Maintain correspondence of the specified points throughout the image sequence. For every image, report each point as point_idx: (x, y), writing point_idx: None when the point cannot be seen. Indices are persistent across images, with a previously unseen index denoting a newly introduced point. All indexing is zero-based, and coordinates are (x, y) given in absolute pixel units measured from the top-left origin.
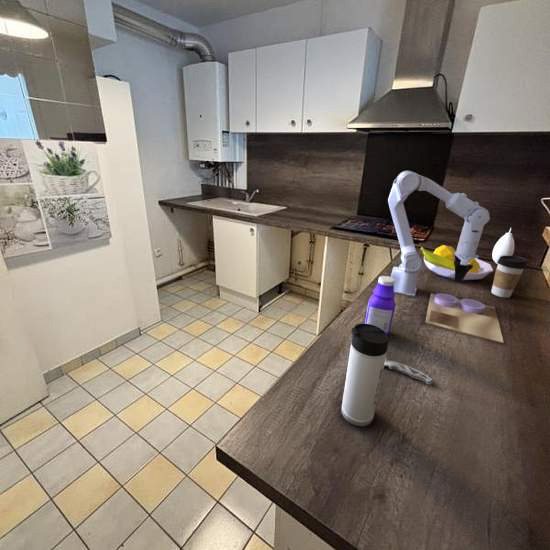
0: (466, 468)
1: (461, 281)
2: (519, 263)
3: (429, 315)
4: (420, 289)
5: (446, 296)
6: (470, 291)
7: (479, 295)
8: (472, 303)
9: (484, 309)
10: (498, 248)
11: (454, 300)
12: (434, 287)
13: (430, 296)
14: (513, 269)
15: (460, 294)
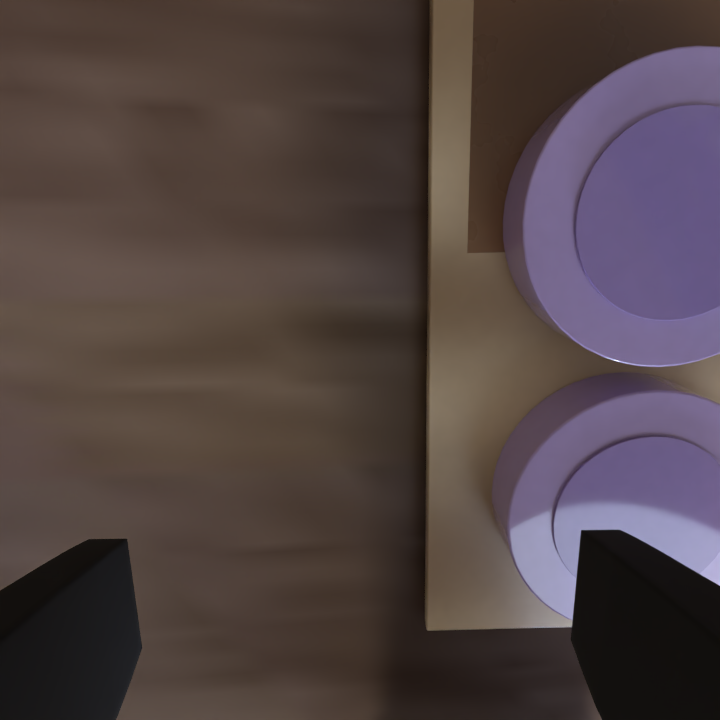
0: None
1: (639, 544)
2: None
3: None
4: (344, 712)
5: (602, 524)
6: (4, 216)
7: (70, 100)
8: (688, 221)
9: (597, 55)
10: None
11: (681, 434)
12: (184, 602)
13: (525, 627)
14: None
15: (208, 334)
